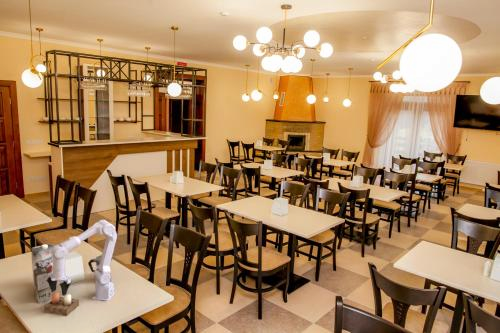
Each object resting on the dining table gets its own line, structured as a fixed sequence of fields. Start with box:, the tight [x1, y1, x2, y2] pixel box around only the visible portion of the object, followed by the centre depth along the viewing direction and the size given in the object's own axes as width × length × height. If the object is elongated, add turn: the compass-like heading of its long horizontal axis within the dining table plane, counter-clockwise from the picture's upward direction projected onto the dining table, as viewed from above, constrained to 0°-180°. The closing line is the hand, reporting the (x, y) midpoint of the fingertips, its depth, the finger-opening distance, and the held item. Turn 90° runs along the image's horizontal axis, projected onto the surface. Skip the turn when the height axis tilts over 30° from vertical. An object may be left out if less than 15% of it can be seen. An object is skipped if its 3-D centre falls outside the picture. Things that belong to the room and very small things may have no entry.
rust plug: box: [51, 291, 60, 304], centre depth 185 cm, size 3×3×5 cm
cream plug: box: [63, 293, 72, 306], centre depth 184 cm, size 3×3×5 cm
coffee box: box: [32, 267, 52, 304], centre depth 194 cm, size 9×6×16 cm
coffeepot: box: [87, 254, 115, 282], centre depth 215 cm, size 15×9×18 cm, turn 129°
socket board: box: [43, 296, 80, 317], centre depth 185 cm, size 13×10×4 cm
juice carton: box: [31, 243, 55, 290], centre depth 202 cm, size 9×10×27 cm
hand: (59, 292), depth 182 cm, fingers open, 7 cm apart
